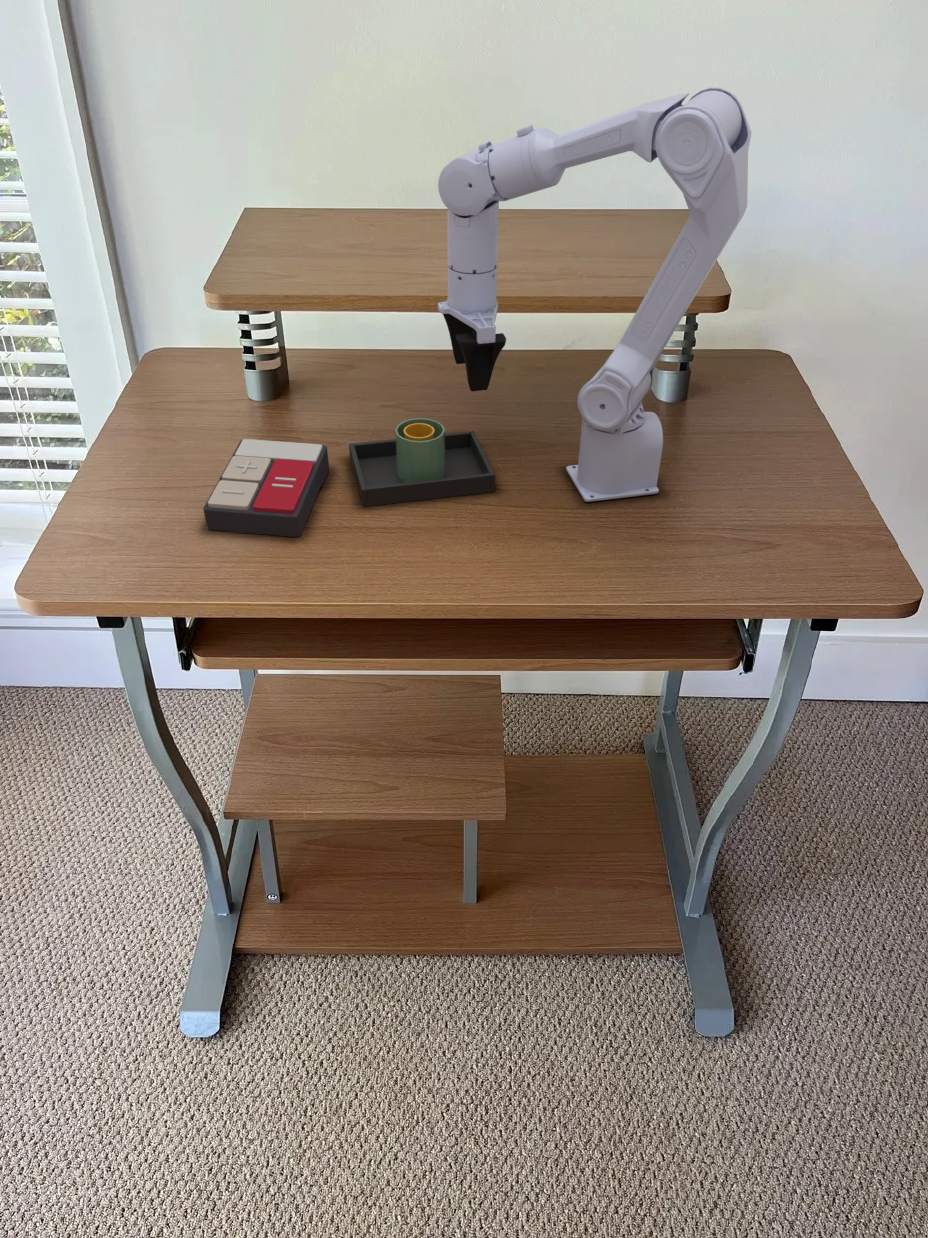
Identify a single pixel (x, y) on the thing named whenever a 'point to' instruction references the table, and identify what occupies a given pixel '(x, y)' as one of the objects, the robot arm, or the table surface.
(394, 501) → the tray
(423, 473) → the green cup
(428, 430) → the mustard cup
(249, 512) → the calculator
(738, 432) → the table surface
